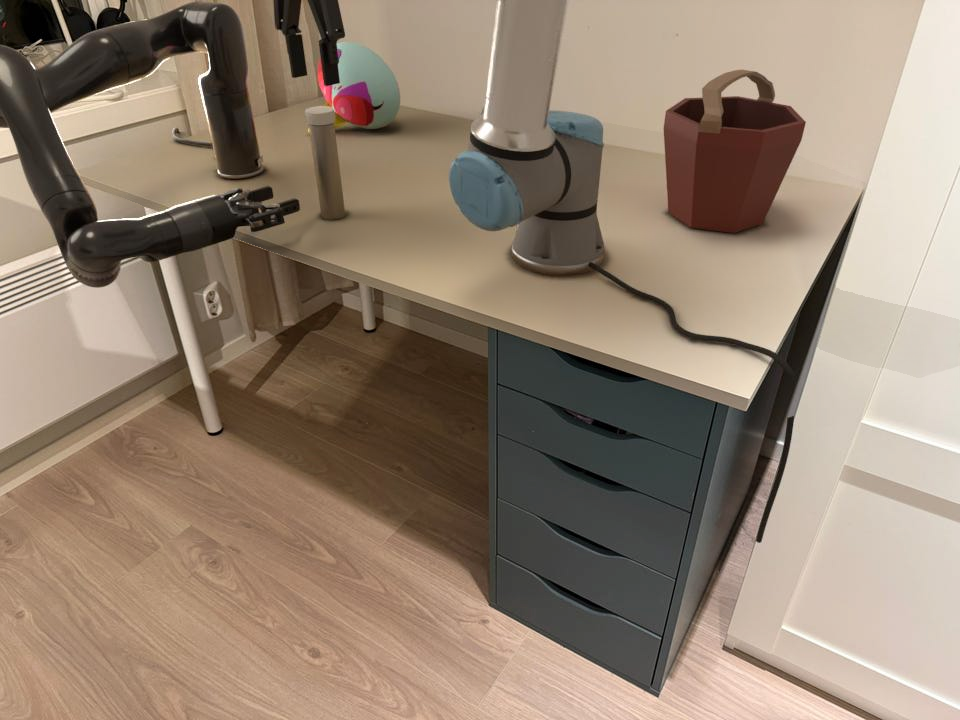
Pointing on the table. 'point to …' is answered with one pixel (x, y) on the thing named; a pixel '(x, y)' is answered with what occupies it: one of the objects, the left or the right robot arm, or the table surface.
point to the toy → (361, 88)
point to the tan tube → (327, 171)
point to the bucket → (728, 154)
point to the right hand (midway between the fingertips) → (315, 80)
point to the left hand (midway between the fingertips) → (284, 197)
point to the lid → (320, 115)
